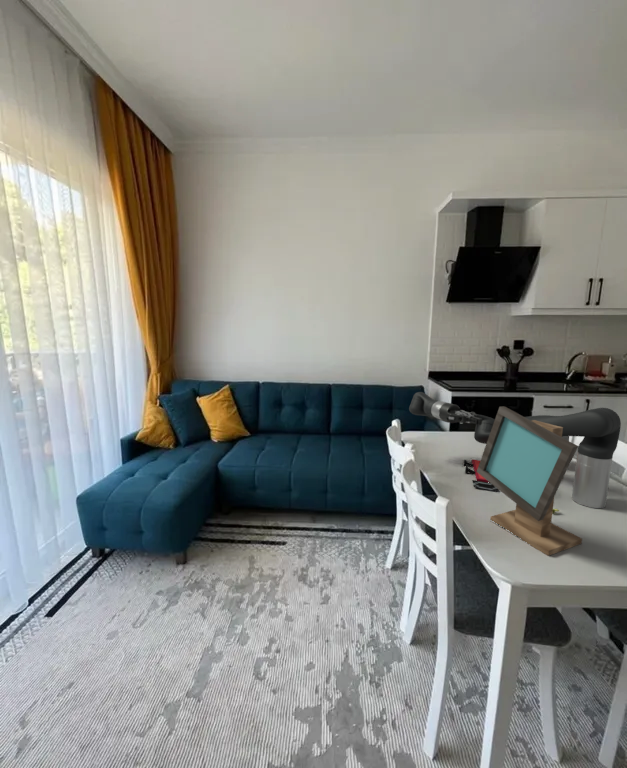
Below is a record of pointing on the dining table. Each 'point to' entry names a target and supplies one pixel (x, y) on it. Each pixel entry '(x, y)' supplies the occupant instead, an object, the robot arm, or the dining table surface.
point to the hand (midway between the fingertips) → (480, 422)
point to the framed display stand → (538, 522)
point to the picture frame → (525, 461)
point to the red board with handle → (478, 476)
